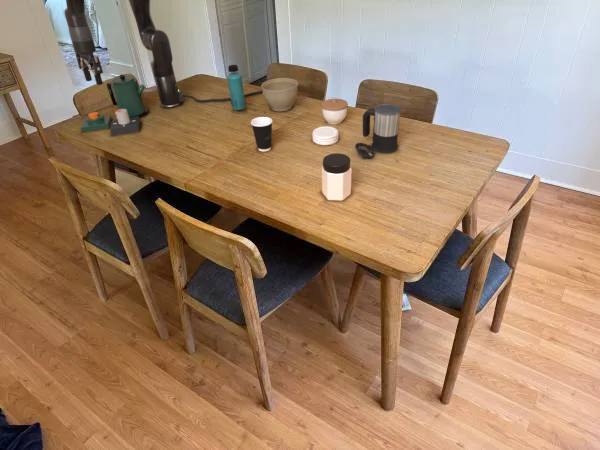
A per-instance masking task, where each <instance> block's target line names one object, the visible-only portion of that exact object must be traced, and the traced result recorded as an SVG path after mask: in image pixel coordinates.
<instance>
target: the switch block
mask: <svg viewBox="0 0 600 450" xmlns="http://www.w3.org/2000/svg"><path fill="white" fill-rule="evenodd" d="M98 114H99V118H96V119H90V118H89V116H86V118H83V121H82V123H81V125H80V129H81V132H82V133H87V132H91V131H99V130H108V129H110V127H111V123H112V120H113V118H112V117H111V114H107V115H103V114H102V113H98Z"/></svg>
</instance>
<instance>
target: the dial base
mask: <svg viewBox="0 0 600 450" xmlns="http://www.w3.org/2000/svg"><path fill="white" fill-rule="evenodd" d="M129 118H130V123H128V124H124V125H121V124H119V123H118V120H117V118H115V119H112V120H111V124H110V128H109V130H110V133H111V136H118V135H125V134H132V133H139V132H140V130H141V118H139V116H136V117H129Z"/></svg>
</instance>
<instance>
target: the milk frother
mask: <svg viewBox="0 0 600 450" xmlns="http://www.w3.org/2000/svg"><path fill="white" fill-rule="evenodd" d="M401 113H402V108H401V107H400V106H399V105H396V104H392V103H382V104H378V105H377V106H375V107H372V108H368V109H366V110H365V111H364V113H363V115H362V136H363V137H364V138H367V137H369V136H370V135H371V116H373V126H372V127H373V129H372V140H371V141H372V144H371V145H370V144H367V143H364V142H356V144H355V145H354V148H355V151H356V152H357V154H359V156H361V157H363V158H367V159H371V158H374V156H375V151H376V152H379V153H384V154H385V153H386V154H387V153H393V152H395V151H396V150H397V149H398V137H399V136H398V135H399V127H400V119H401ZM362 147H363V148H362Z"/></svg>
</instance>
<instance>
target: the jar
mask: <svg viewBox="0 0 600 450" xmlns="http://www.w3.org/2000/svg"><path fill="white" fill-rule="evenodd" d="M352 169H353V168H352V167H351V157H350V156H348V155H347V154H344V153H338V152H337V153H329V154H327V155H325V156H324V157H323V158H322V166H321V193H322V194H323V196H324V197H325V198H326V200H328V201H344V200H345V199H346V198H348V197H349V196H350V195H351V194H352V171H353V170H352Z"/></svg>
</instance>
